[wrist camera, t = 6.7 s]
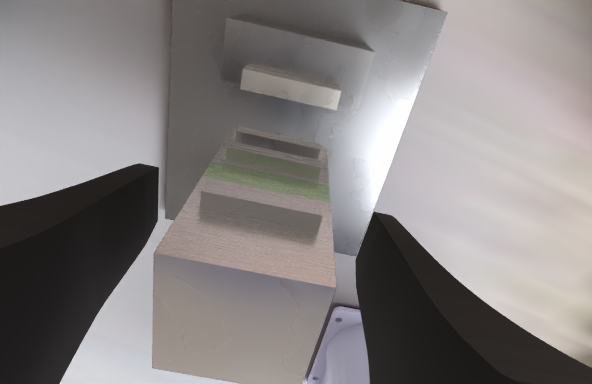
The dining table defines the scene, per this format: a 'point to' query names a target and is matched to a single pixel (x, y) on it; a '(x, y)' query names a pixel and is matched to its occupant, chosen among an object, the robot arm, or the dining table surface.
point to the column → (247, 264)
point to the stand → (298, 89)
